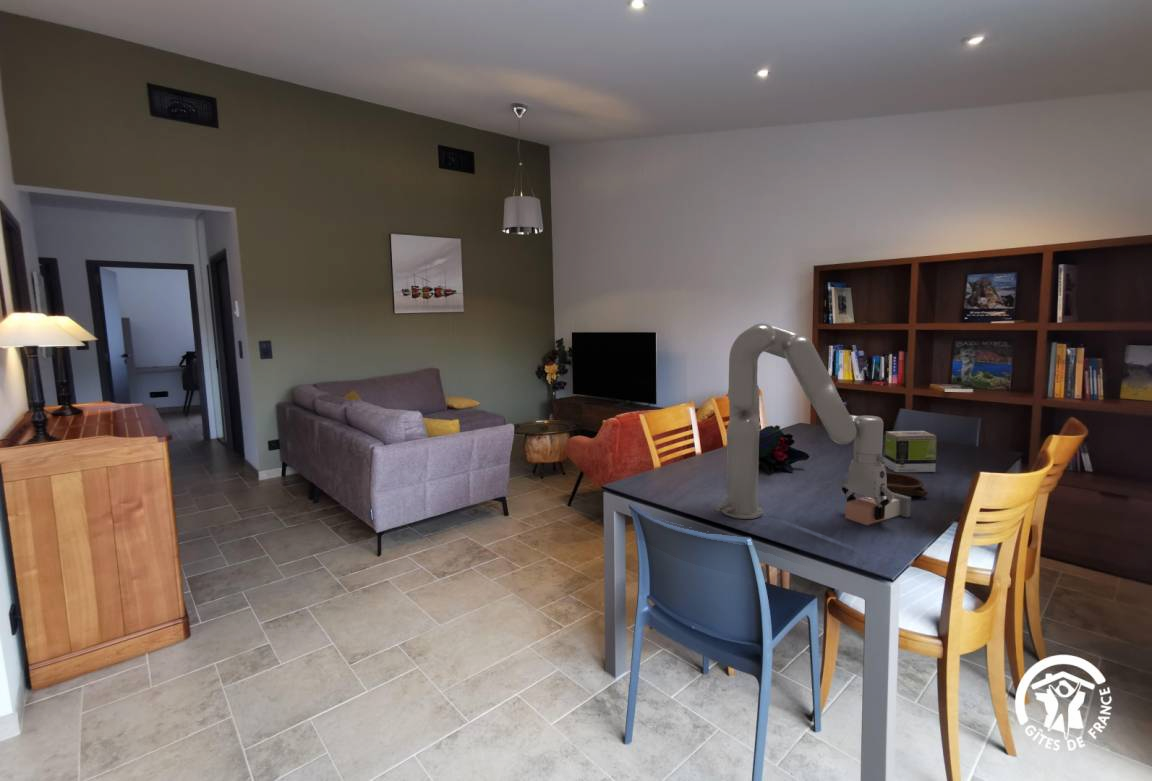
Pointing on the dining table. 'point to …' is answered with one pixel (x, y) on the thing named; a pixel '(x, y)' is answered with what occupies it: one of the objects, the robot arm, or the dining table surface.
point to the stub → (861, 511)
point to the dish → (905, 485)
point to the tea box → (910, 451)
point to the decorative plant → (778, 450)
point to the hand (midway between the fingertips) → (864, 514)
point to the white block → (897, 506)
